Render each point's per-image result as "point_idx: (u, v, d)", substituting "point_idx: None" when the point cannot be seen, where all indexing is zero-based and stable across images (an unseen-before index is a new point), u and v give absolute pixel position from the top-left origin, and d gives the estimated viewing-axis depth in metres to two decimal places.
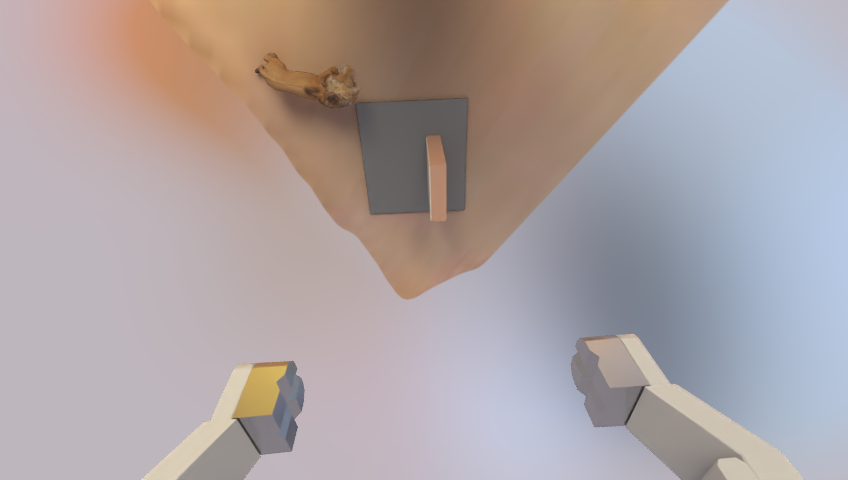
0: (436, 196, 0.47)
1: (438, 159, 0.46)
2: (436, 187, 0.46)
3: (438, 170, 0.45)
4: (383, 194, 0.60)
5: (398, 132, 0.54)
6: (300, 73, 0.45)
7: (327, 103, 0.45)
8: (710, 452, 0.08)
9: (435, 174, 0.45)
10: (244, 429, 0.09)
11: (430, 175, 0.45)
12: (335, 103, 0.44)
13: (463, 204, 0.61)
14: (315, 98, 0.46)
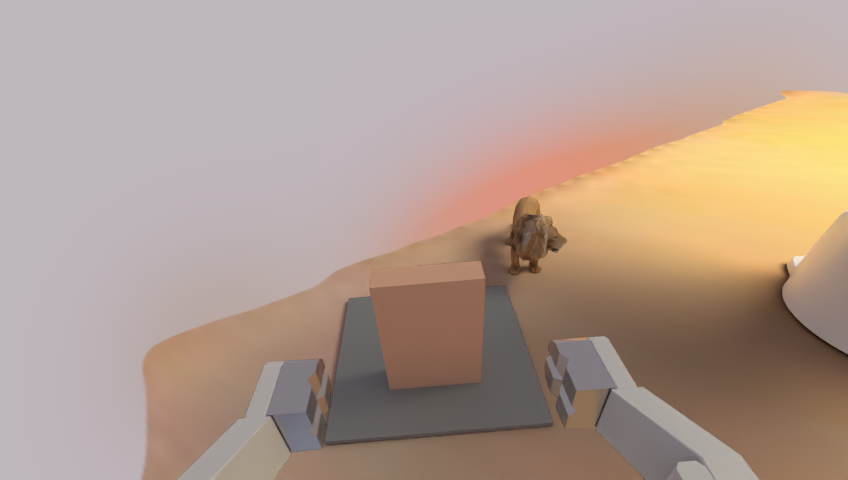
0: (422, 271, 0.26)
1: None
2: (440, 270, 0.26)
3: (473, 270, 0.26)
4: None
5: None
6: None
7: (521, 219, 0.40)
8: (673, 456, 0.08)
9: (465, 267, 0.26)
10: (277, 426, 0.09)
11: (462, 262, 0.26)
12: (525, 221, 0.39)
13: (337, 438, 0.28)
14: None
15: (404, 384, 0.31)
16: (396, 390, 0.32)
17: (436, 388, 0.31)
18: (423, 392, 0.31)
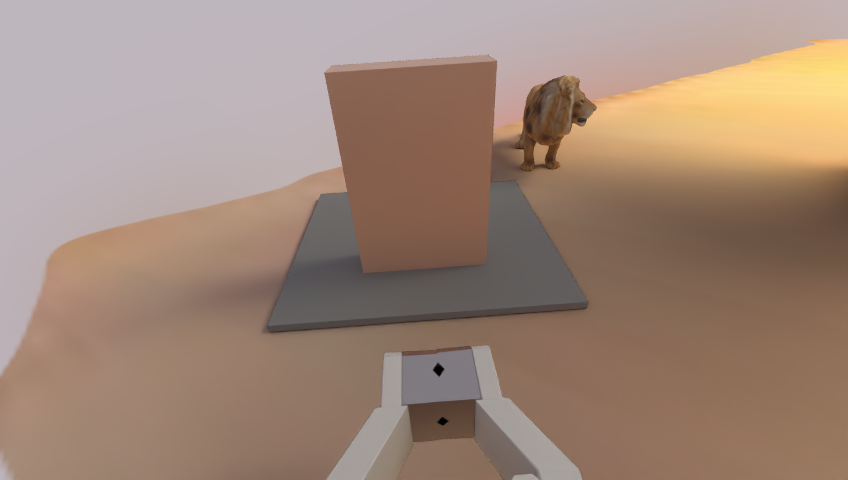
0: (405, 62, 0.18)
1: None
2: (431, 60, 0.18)
3: (478, 58, 0.18)
4: None
5: None
6: None
7: (538, 89, 0.32)
8: (522, 468, 0.08)
9: (466, 58, 0.18)
10: (408, 416, 0.09)
11: (462, 58, 0.18)
12: (544, 87, 0.31)
13: (286, 322, 0.20)
14: None
15: (382, 264, 0.23)
16: (372, 273, 0.23)
17: (426, 270, 0.23)
18: (408, 275, 0.23)
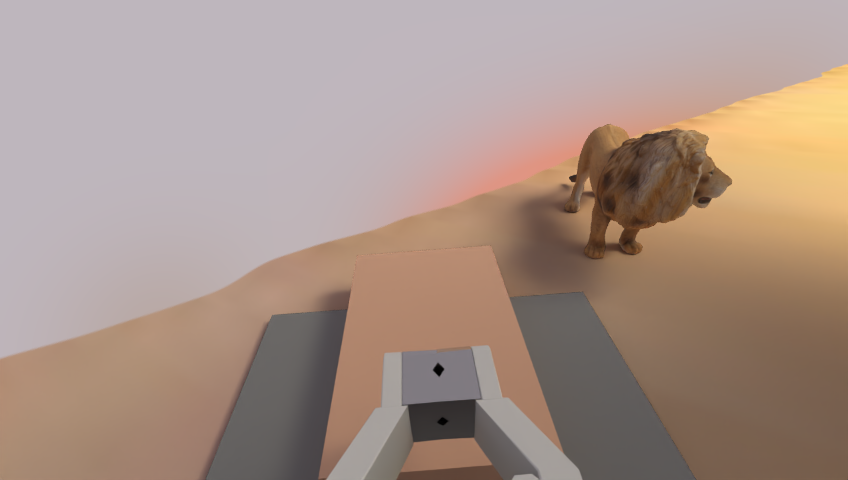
0: None
1: None
2: None
3: None
4: (326, 345, 0.19)
5: None
6: None
7: (627, 146, 0.20)
8: (522, 468, 0.08)
9: None
10: (408, 416, 0.09)
11: None
12: (642, 145, 0.19)
13: None
14: None
15: None
16: None
17: None
18: None
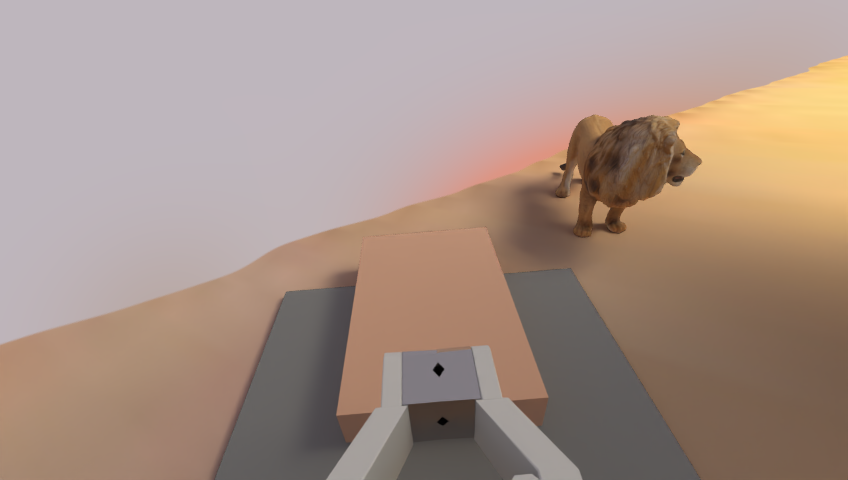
0: None
1: None
2: None
3: None
4: (336, 316, 0.21)
5: None
6: None
7: (609, 132, 0.22)
8: (522, 468, 0.08)
9: None
10: (408, 416, 0.09)
11: None
12: (621, 131, 0.21)
13: None
14: None
15: (372, 397, 0.14)
16: None
17: None
18: None
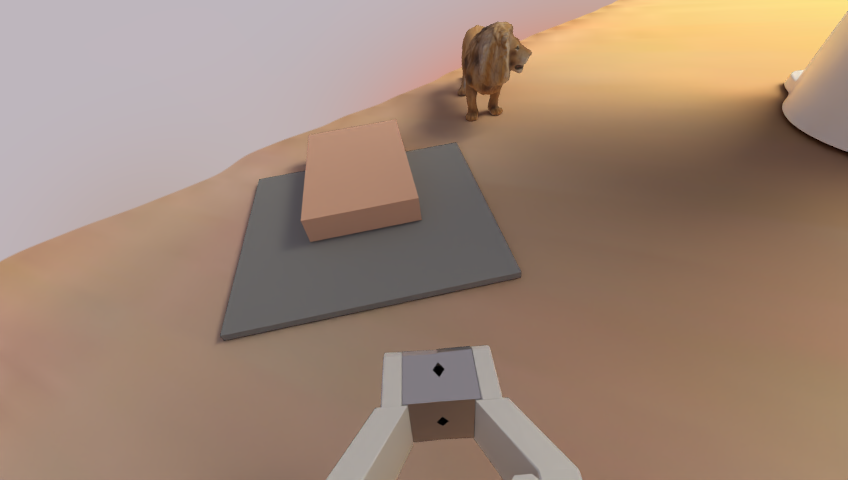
0: None
1: None
2: None
3: None
4: (297, 188, 0.30)
5: (421, 187, 0.29)
6: None
7: (474, 37, 0.32)
8: (522, 468, 0.08)
9: None
10: (408, 416, 0.09)
11: None
12: None
13: (238, 329, 0.21)
14: None
15: (320, 211, 0.24)
16: (318, 266, 0.24)
17: (371, 257, 0.24)
18: (354, 263, 0.24)
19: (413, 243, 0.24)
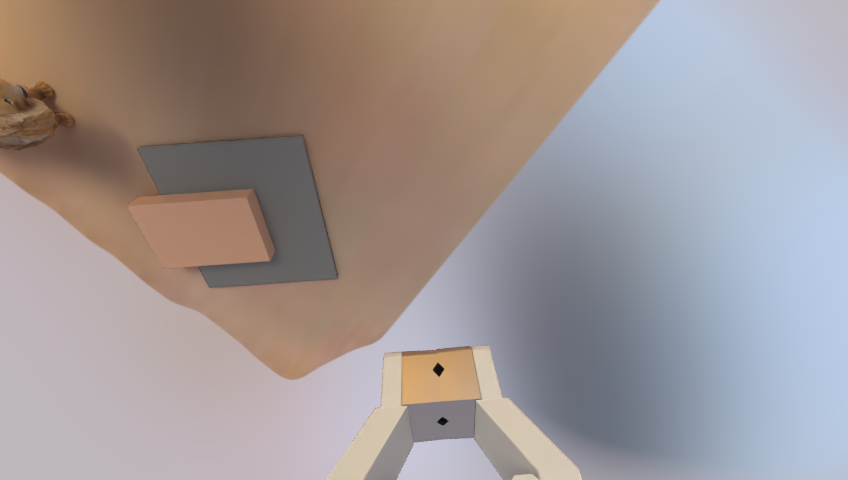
0: None
1: (150, 200, 0.37)
2: None
3: None
4: None
5: (213, 184, 0.37)
6: None
7: None
8: (522, 468, 0.08)
9: None
10: (409, 416, 0.09)
11: None
12: None
13: (334, 272, 0.45)
14: None
15: (260, 251, 0.40)
16: (294, 244, 0.42)
17: (287, 218, 0.40)
18: (292, 226, 0.41)
19: (275, 194, 0.38)
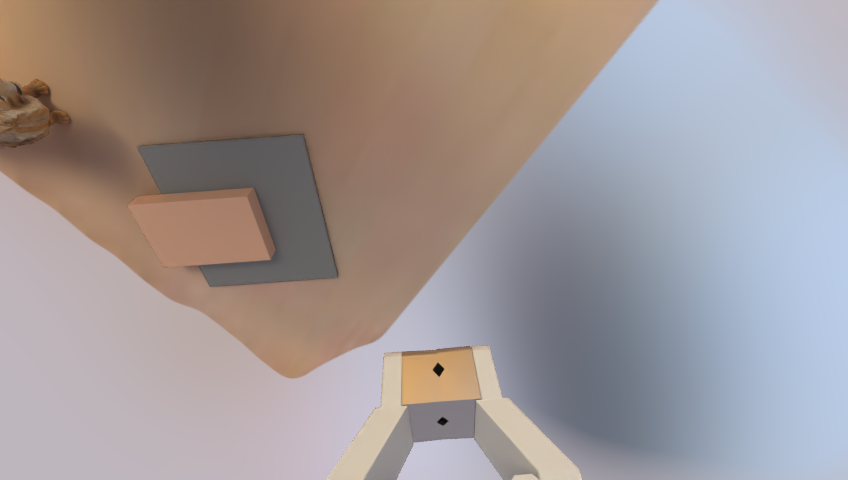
0: None
1: (150, 199, 0.37)
2: None
3: None
4: None
5: (214, 183, 0.37)
6: None
7: None
8: (522, 468, 0.08)
9: None
10: (408, 416, 0.09)
11: None
12: None
13: (334, 271, 0.45)
14: None
15: (261, 250, 0.40)
16: (295, 243, 0.42)
17: (287, 217, 0.40)
18: (293, 225, 0.41)
19: (276, 193, 0.38)
